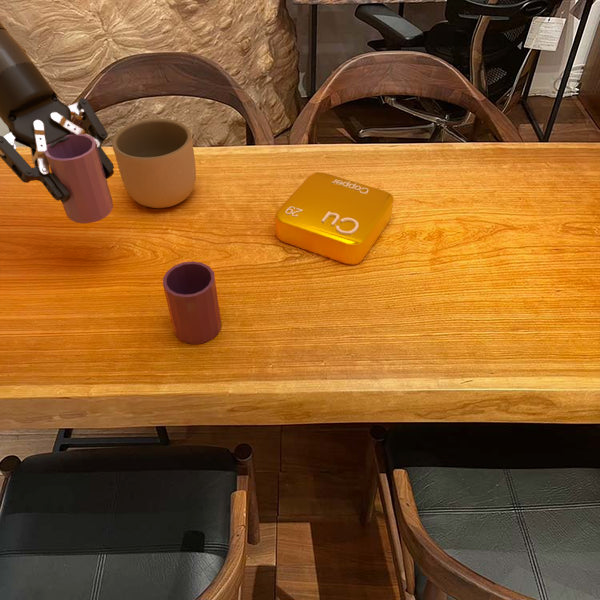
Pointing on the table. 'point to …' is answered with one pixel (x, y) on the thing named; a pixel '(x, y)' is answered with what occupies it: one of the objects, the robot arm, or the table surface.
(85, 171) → the lilac cup
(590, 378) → the table surface
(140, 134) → the planter
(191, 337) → the plum cup
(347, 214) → the element tile
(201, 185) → the table surface
